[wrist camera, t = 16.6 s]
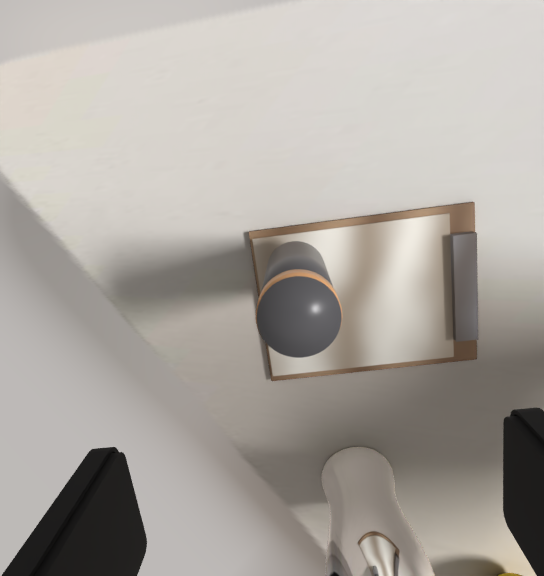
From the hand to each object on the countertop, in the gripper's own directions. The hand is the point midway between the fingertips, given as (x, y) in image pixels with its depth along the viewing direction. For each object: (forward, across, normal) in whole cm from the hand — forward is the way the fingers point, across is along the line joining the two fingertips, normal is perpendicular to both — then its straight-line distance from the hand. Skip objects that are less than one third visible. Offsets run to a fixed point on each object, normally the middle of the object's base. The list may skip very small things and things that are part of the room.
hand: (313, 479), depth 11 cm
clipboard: (+23, -5, +3) cm, 24 cm away
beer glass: (+23, -3, +19) cm, 30 cm away
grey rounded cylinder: (+22, 0, 0) cm, 23 cm away
